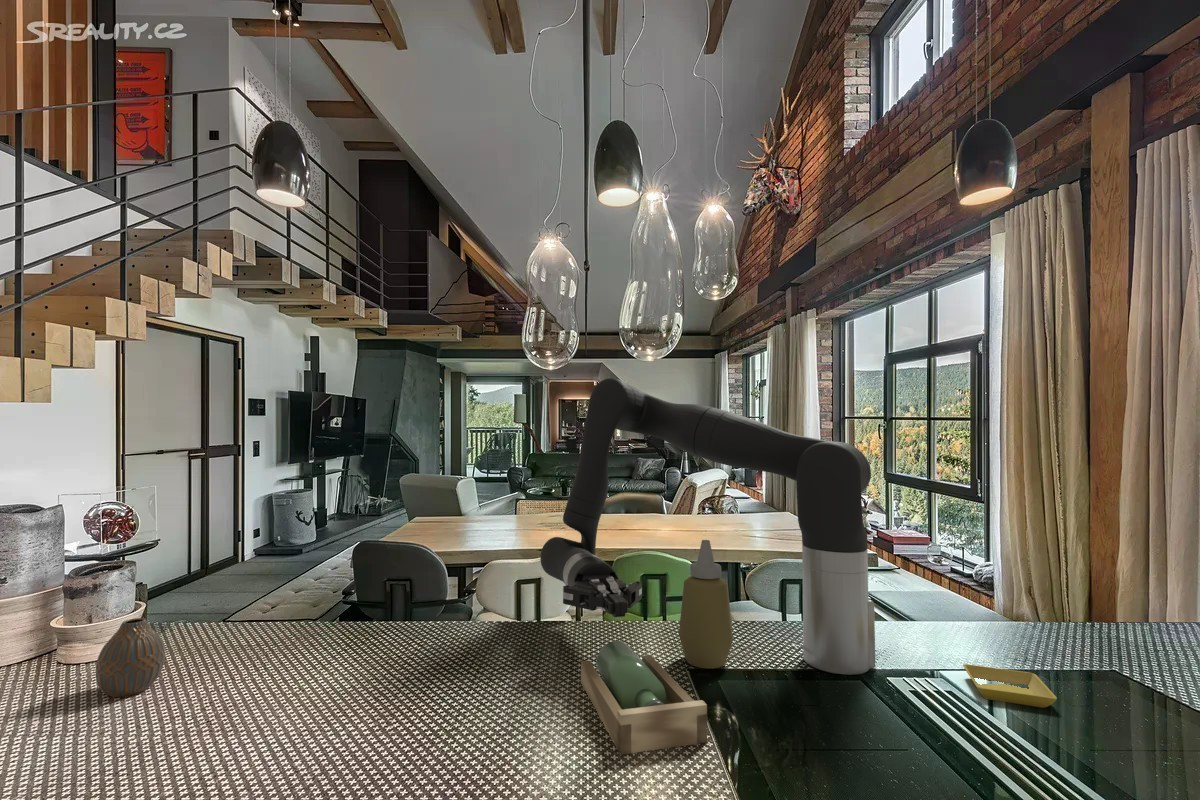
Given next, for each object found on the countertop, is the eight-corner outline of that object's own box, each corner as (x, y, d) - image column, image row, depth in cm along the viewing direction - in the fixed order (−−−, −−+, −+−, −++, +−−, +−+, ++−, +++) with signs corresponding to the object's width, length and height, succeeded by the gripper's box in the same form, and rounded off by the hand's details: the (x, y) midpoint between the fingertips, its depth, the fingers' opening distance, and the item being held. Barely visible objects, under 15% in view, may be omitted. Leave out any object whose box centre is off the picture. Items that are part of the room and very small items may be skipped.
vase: (175, 683, 75) (180, 616, 76) (116, 706, 69) (122, 632, 69) (140, 675, 77) (144, 610, 78) (80, 697, 71) (85, 625, 71)
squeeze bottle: (734, 675, 80) (733, 546, 81) (676, 670, 82) (677, 543, 83) (732, 654, 88) (732, 537, 89) (680, 650, 90) (680, 534, 91)
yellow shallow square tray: (977, 703, 73) (977, 686, 74) (962, 677, 81) (962, 662, 82) (1059, 716, 70) (1058, 699, 70) (1035, 688, 78) (1034, 672, 78)
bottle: (633, 638, 79) (679, 687, 64) (634, 678, 79) (679, 737, 63) (596, 642, 78) (633, 693, 62) (596, 683, 77) (634, 744, 62)
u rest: (650, 676, 79) (650, 647, 80) (706, 742, 62) (707, 704, 62) (580, 684, 77) (581, 653, 77) (620, 754, 60) (620, 715, 60)
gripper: (550, 557, 92) (573, 584, 76) (627, 554, 96) (665, 579, 79) (549, 604, 92) (572, 641, 75) (626, 599, 95) (665, 634, 79)
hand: (620, 609), depth 77 cm, fingers closed
